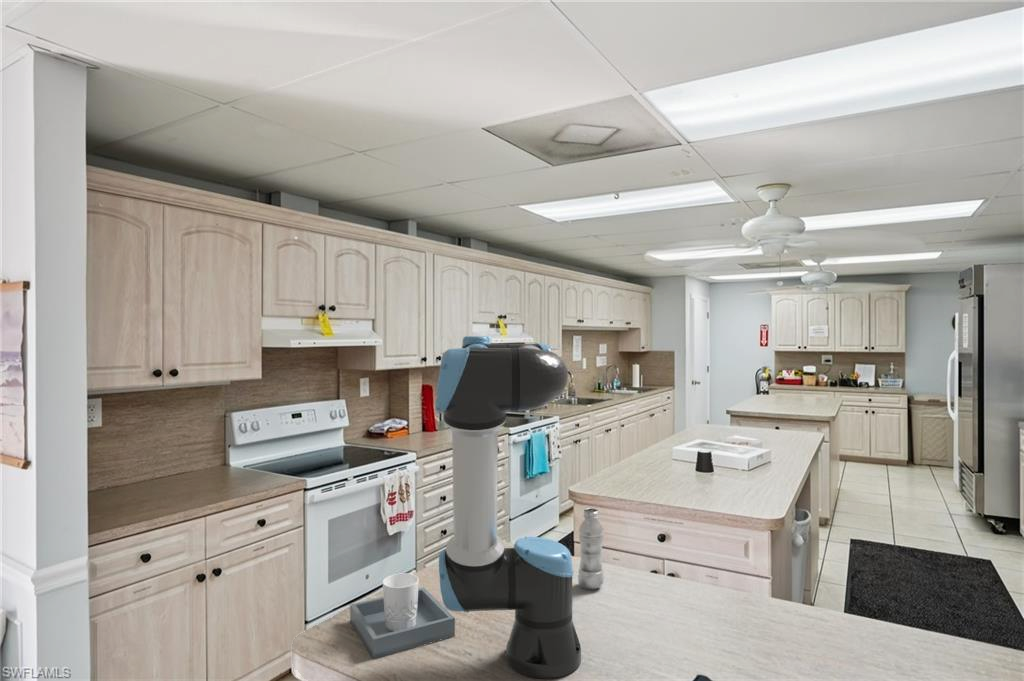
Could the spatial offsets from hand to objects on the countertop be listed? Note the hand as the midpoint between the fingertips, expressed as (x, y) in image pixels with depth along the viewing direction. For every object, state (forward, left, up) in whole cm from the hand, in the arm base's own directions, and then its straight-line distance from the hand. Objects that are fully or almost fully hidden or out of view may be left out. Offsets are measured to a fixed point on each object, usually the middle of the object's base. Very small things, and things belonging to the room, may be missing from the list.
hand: (476, 474), depth 156 cm
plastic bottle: (-18, -24, -29) cm, 42 cm away
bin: (-14, +26, -29) cm, 41 cm away
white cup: (-14, +26, -28) cm, 41 cm away
